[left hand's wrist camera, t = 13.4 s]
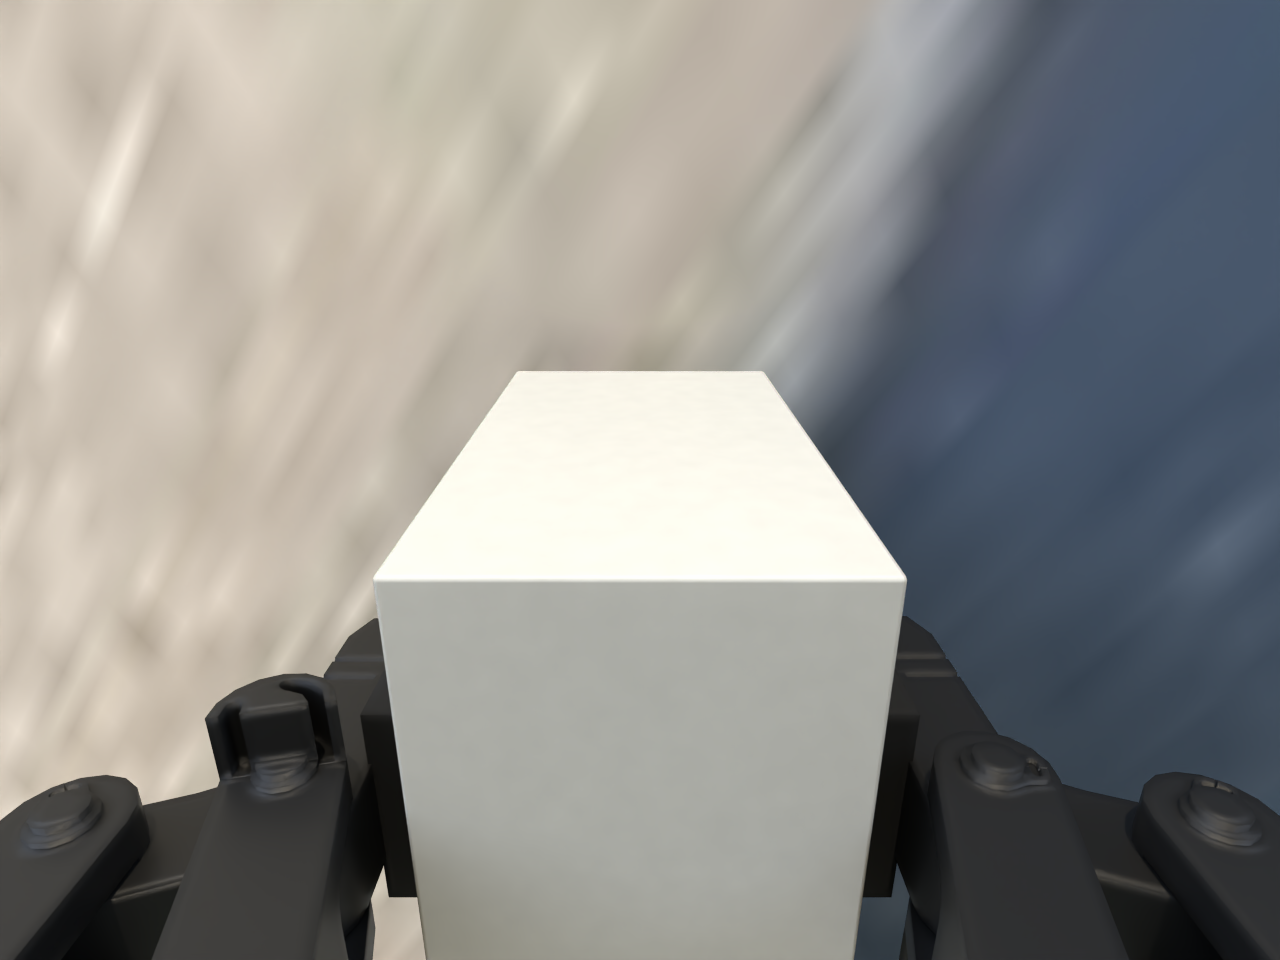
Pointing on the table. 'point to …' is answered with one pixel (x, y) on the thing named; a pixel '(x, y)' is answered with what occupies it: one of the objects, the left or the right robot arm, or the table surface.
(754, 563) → the bar
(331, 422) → the table surface
